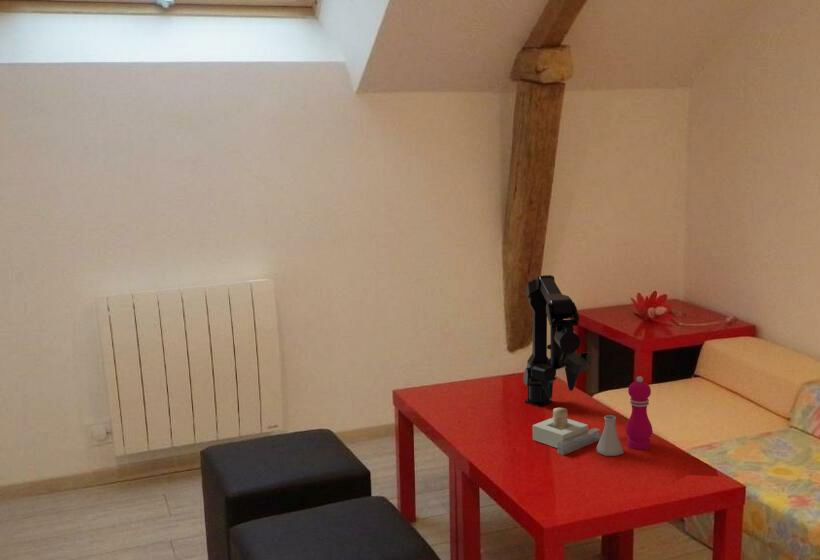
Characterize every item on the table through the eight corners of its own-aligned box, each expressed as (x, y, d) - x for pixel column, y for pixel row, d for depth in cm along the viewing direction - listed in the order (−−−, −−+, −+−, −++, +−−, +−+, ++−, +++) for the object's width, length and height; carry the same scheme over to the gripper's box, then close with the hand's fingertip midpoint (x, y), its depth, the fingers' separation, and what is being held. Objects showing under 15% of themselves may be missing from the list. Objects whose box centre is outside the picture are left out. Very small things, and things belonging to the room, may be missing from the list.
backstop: (557, 453, 243) (557, 443, 242) (594, 437, 253) (594, 427, 252) (563, 455, 241) (563, 445, 240) (600, 439, 251) (600, 429, 251)
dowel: (550, 440, 252) (550, 410, 250) (559, 436, 255) (559, 406, 253) (561, 444, 249) (561, 413, 247) (570, 440, 252) (570, 410, 250)
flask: (591, 449, 245) (591, 414, 243) (614, 445, 247) (615, 411, 245) (604, 458, 238) (605, 423, 236) (628, 454, 240) (629, 419, 238)
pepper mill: (653, 451, 242) (654, 380, 238) (625, 450, 243) (626, 380, 239) (651, 441, 249) (652, 372, 245) (624, 440, 250) (625, 372, 246)
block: (532, 439, 253) (532, 425, 252) (558, 429, 260) (557, 415, 259) (562, 450, 244) (562, 435, 243) (588, 439, 251) (588, 424, 250)
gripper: (560, 355, 239) (560, 410, 243) (604, 340, 251) (603, 393, 254) (530, 347, 247) (530, 399, 251) (573, 333, 259) (573, 383, 262)
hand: (560, 394), depth 254 cm, fingers open, 9 cm apart
